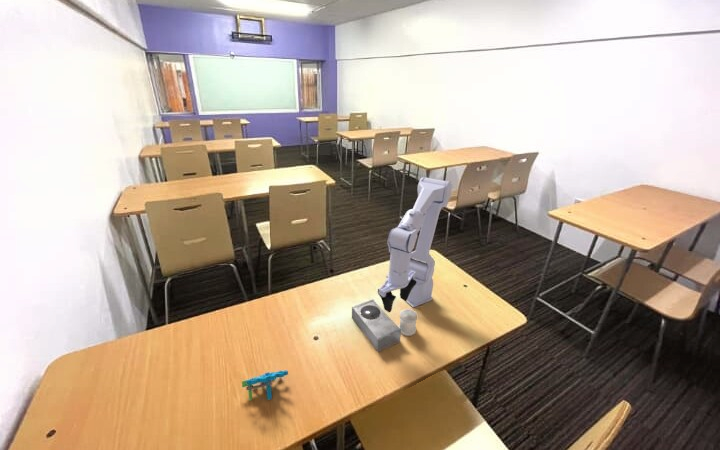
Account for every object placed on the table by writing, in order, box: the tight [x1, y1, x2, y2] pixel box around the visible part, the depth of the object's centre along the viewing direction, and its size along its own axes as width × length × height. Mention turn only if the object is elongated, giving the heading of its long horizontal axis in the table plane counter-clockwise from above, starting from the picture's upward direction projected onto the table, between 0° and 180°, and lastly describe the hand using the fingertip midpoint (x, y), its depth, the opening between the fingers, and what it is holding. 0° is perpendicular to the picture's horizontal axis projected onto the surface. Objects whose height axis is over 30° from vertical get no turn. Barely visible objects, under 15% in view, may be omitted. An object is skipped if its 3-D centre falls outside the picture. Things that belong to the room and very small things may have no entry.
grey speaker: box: [351, 299, 402, 352], centre depth 94 cm, size 8×16×5 cm, turn 30°
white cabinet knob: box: [397, 308, 419, 337], centre depth 94 cm, size 6×6×6 cm
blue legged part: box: [241, 370, 289, 401], centre depth 74 cm, size 11×6×10 cm
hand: (395, 304), depth 92 cm, fingers open, 7 cm apart
